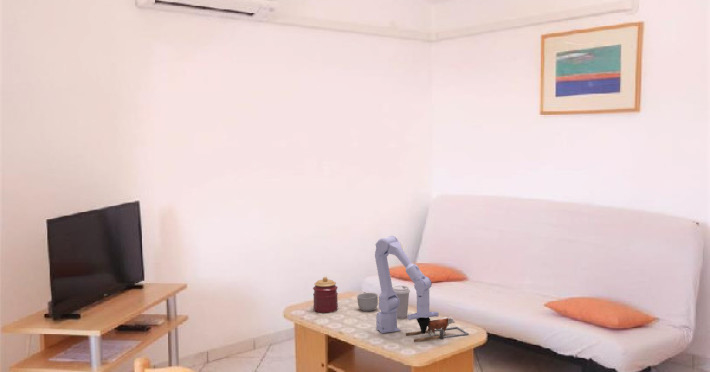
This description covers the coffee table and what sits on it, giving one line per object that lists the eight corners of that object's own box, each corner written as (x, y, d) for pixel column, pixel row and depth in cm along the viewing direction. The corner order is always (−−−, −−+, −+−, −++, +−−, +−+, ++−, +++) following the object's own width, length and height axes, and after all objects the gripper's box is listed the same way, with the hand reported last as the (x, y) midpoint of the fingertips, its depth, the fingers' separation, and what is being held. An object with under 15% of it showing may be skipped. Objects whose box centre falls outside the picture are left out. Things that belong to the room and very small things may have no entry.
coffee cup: (407, 320, 305) (407, 290, 304) (389, 318, 308) (388, 289, 307) (412, 314, 314) (412, 285, 313) (394, 313, 317) (393, 284, 316)
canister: (333, 314, 317) (332, 280, 316) (309, 312, 321) (309, 279, 319) (341, 307, 330) (340, 274, 328) (318, 305, 333) (317, 273, 332)
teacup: (378, 312, 318) (377, 297, 318) (357, 312, 319) (356, 297, 318) (377, 305, 332) (377, 290, 332) (357, 305, 332) (357, 290, 332)
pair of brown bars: (415, 342, 272) (415, 333, 272) (404, 334, 284) (404, 325, 283) (443, 338, 277) (443, 330, 276) (431, 330, 288) (431, 322, 288)
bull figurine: (455, 334, 282) (455, 316, 282) (428, 337, 279) (428, 319, 278) (451, 331, 287) (451, 314, 286) (425, 334, 283) (424, 317, 282)
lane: (443, 338, 277) (443, 337, 277) (432, 331, 288) (432, 329, 287) (468, 334, 281) (468, 333, 281) (457, 327, 292) (457, 326, 292)
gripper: (412, 308, 273) (412, 338, 274) (441, 304, 277) (441, 334, 278) (405, 304, 279) (405, 333, 280) (434, 300, 284) (434, 329, 285)
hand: (423, 333), depth 280 cm, fingers closed
